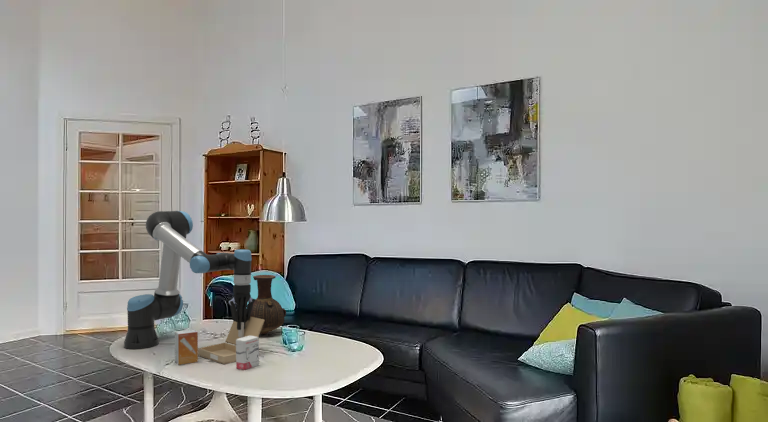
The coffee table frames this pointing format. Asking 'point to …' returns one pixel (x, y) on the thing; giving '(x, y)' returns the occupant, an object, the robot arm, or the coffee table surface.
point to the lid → (251, 329)
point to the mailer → (219, 353)
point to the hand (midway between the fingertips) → (240, 336)
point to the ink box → (247, 352)
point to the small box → (186, 346)
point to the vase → (267, 305)
